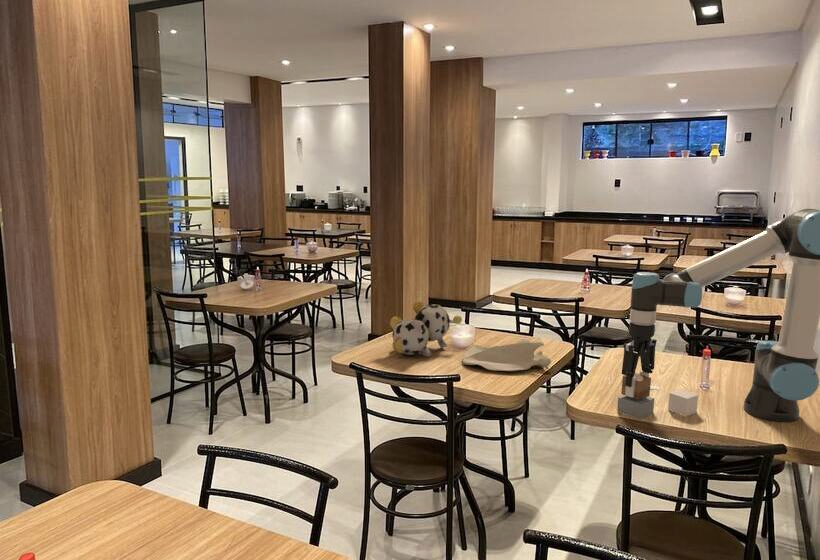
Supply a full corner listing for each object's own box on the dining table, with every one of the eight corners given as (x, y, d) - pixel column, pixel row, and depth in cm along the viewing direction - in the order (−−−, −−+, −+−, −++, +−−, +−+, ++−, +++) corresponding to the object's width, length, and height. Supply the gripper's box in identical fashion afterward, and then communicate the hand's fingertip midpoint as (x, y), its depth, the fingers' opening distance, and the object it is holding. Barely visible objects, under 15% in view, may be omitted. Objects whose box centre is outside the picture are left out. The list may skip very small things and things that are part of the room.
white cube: (696, 413, 191) (698, 394, 190) (685, 417, 188) (687, 398, 187) (678, 407, 196) (680, 389, 195) (668, 410, 192) (669, 392, 191)
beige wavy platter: (536, 377, 217) (539, 398, 223) (554, 341, 231) (557, 362, 237) (448, 360, 236) (453, 380, 242) (469, 327, 250) (474, 347, 256)
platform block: (653, 413, 191) (654, 398, 190) (641, 419, 185) (642, 404, 184) (629, 406, 196) (630, 391, 196) (617, 412, 191) (618, 397, 190)
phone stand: (659, 399, 204) (659, 394, 203) (621, 394, 208) (622, 389, 208) (659, 381, 222) (659, 377, 222) (625, 377, 226) (625, 373, 226)
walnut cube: (649, 396, 189) (651, 377, 188) (637, 399, 186) (639, 381, 185) (632, 390, 194) (634, 372, 193) (621, 393, 191) (622, 375, 190)
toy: (373, 322, 244) (410, 334, 232) (425, 289, 266) (461, 298, 253) (381, 366, 253) (416, 379, 240) (431, 331, 274) (465, 341, 262)
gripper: (649, 316, 194) (643, 385, 198) (612, 323, 184) (606, 396, 188) (671, 321, 188) (664, 392, 192) (633, 329, 178) (627, 403, 182)
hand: (636, 393), depth 190 cm, fingers closed on walnut cube, 6 cm apart
